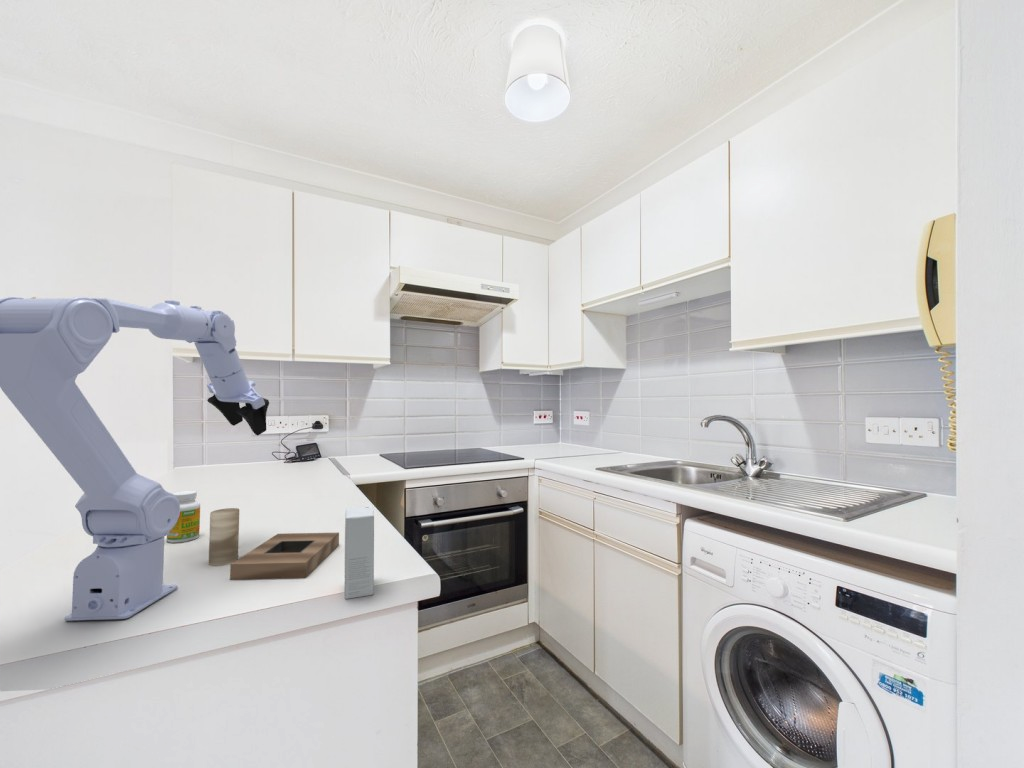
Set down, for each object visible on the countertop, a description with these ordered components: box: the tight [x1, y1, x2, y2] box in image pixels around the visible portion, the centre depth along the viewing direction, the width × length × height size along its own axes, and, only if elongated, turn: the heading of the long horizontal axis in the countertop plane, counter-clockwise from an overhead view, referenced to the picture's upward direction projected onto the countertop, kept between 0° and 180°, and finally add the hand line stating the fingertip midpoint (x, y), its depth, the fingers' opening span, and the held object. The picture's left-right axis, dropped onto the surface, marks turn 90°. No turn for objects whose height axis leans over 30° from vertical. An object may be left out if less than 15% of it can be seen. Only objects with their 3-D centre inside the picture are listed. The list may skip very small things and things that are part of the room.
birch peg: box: [208, 507, 240, 567], centre depth 76 cm, size 4×4×9 cm
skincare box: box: [344, 505, 375, 600], centre depth 65 cm, size 6×4×12 cm
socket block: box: [229, 532, 340, 581], centre depth 76 cm, size 16×12×2 cm
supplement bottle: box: [166, 490, 201, 544], centre depth 88 cm, size 5×5×10 cm
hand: (249, 427), depth 87 cm, fingers open, 7 cm apart
